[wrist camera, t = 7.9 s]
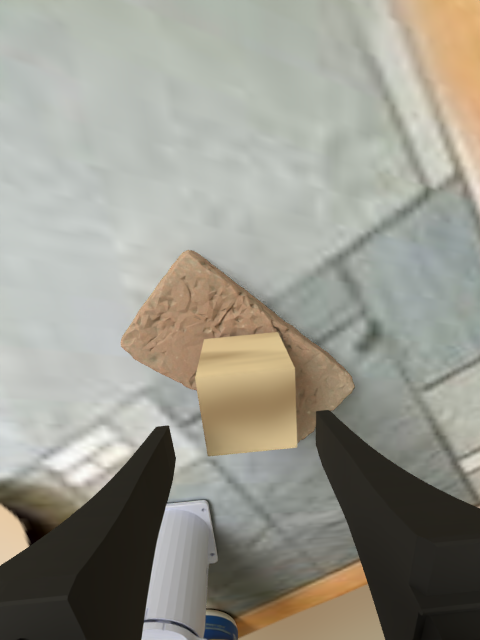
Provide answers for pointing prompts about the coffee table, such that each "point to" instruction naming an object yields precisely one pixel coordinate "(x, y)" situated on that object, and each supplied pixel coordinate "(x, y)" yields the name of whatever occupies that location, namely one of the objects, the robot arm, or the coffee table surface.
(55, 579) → the robot arm
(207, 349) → the oak cube
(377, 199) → the coffee table surface
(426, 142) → the coffee table surface
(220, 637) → the beverage bottle
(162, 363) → the brick
